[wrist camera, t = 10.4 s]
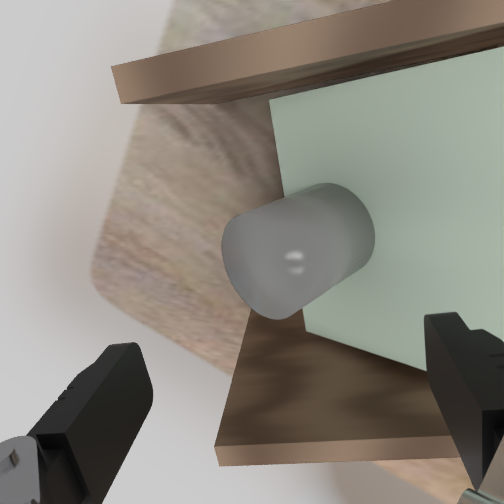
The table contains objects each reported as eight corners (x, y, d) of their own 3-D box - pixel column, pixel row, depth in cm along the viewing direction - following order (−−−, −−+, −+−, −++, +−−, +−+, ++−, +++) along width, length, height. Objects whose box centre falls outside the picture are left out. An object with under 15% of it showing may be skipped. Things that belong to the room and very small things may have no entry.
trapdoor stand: (504, 22, 24) (773, -88, 10) (501, 287, 30) (673, 449, 16) (210, 85, 28) (110, 66, 14) (256, 313, 33) (219, 466, 19)
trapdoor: (1140, -92, 8) (1266, -127, 6) (905, 462, 12) (936, 540, 10) (304, 93, 23) (268, 99, 21) (334, 310, 28) (306, 330, 26)
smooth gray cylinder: (369, 181, 19) (291, 216, 15) (379, 280, 20) (310, 331, 17) (289, 183, 22) (212, 211, 19) (303, 266, 24) (233, 306, 21)
